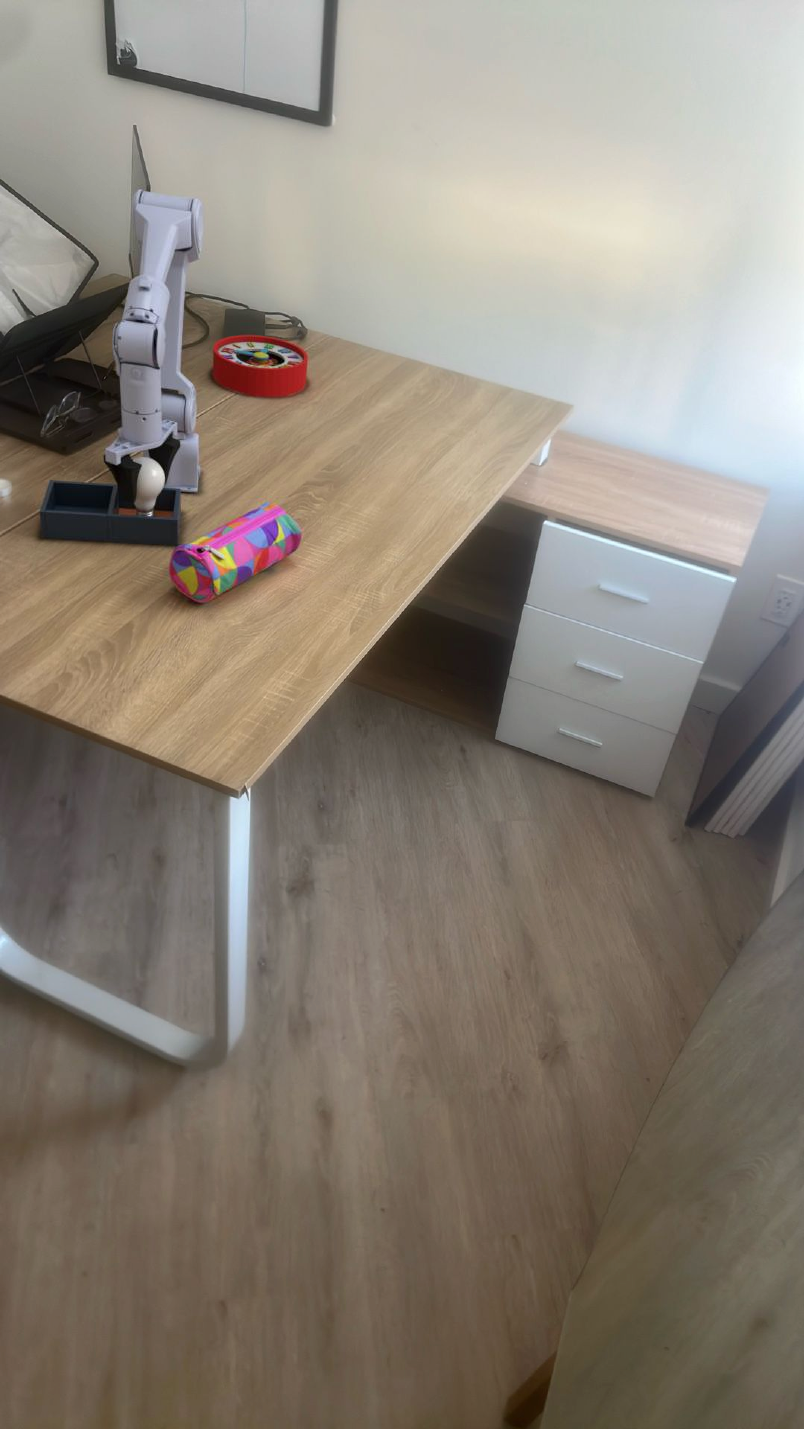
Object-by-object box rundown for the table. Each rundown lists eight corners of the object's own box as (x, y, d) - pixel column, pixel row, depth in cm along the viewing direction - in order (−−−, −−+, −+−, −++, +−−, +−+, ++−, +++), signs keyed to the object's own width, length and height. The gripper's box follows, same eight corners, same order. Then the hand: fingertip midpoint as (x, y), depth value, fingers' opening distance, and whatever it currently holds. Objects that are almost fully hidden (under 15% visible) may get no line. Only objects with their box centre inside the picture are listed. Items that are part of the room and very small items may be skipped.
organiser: (180, 513, 156) (180, 488, 153) (177, 545, 148) (177, 520, 145) (52, 505, 152) (49, 479, 149) (42, 538, 144) (39, 511, 141)
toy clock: (296, 376, 194) (200, 358, 194) (294, 404, 197) (200, 386, 198) (316, 346, 209) (228, 329, 209) (314, 372, 213) (227, 355, 213)
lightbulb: (173, 520, 152) (172, 456, 145) (153, 537, 147) (151, 471, 140) (137, 509, 153) (134, 445, 146) (116, 526, 148) (113, 460, 141)
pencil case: (212, 618, 134) (213, 563, 128) (162, 593, 137) (161, 538, 131) (303, 562, 149) (308, 510, 144) (256, 540, 152) (259, 489, 147)
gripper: (150, 385, 145) (152, 468, 153) (85, 413, 134) (92, 500, 142) (188, 399, 143) (188, 481, 151) (126, 428, 132) (130, 515, 141)
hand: (144, 491), depth 147 cm, fingers open, 7 cm apart
